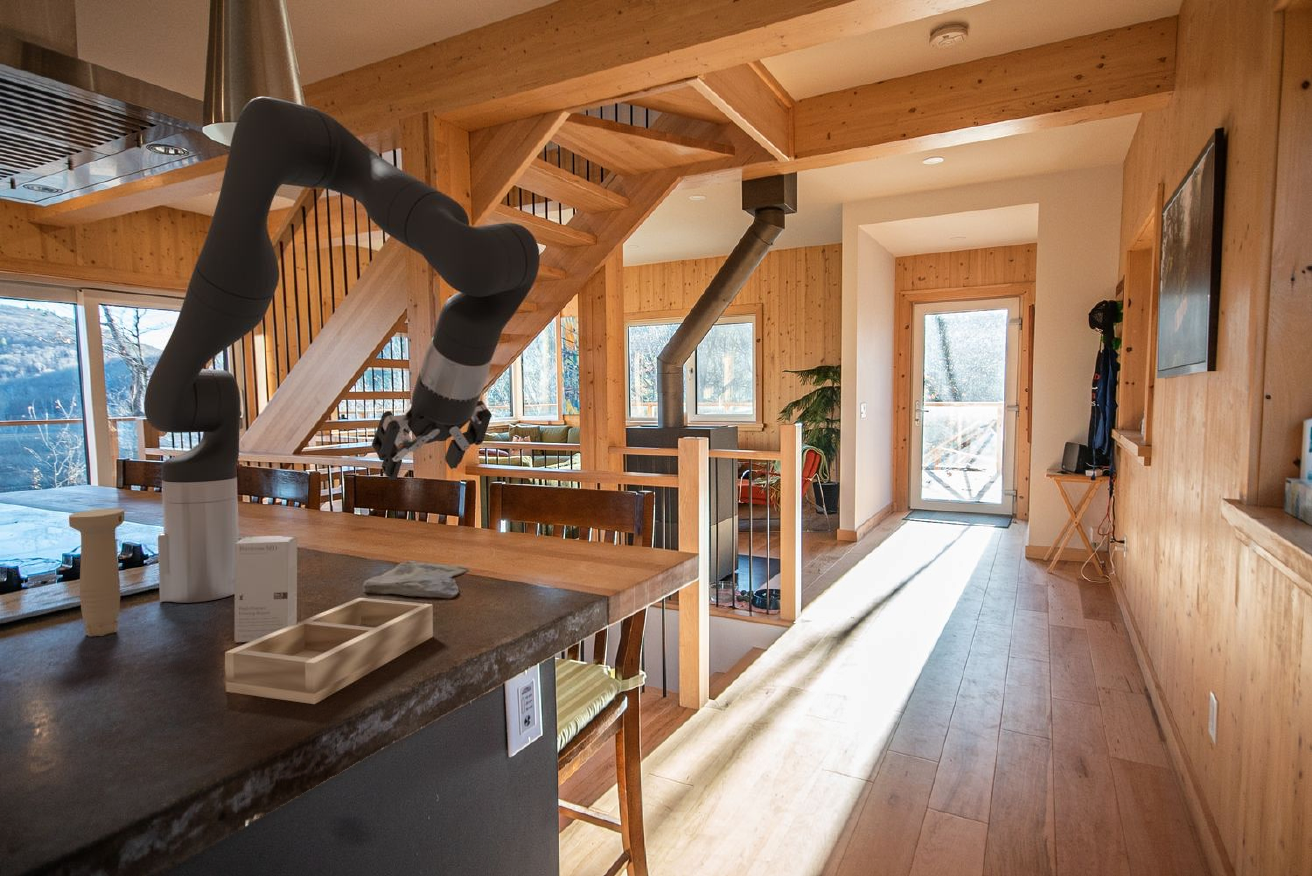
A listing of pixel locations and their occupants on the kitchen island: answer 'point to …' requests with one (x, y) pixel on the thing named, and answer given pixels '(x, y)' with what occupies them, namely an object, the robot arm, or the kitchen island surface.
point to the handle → (99, 569)
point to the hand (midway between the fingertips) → (420, 469)
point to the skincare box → (265, 586)
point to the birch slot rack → (327, 650)
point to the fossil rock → (417, 580)
